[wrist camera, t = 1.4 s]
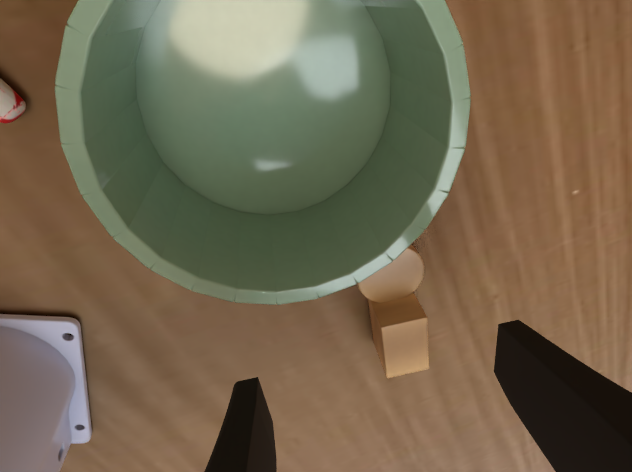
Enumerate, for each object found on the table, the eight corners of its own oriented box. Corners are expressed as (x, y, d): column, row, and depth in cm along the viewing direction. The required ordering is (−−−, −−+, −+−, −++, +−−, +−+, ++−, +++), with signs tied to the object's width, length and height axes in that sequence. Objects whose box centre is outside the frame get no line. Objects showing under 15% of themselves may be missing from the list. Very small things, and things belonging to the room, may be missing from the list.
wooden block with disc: (421, 331, 25) (439, 366, 23) (363, 344, 25) (376, 381, 22) (417, 229, 21) (438, 259, 19) (349, 244, 21) (362, 275, 19)
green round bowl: (364, 229, 21) (406, 313, 15) (127, 206, 19) (76, 294, 13) (433, -28, 16) (536, -44, 10) (118, -106, 13) (23, -182, 8)
